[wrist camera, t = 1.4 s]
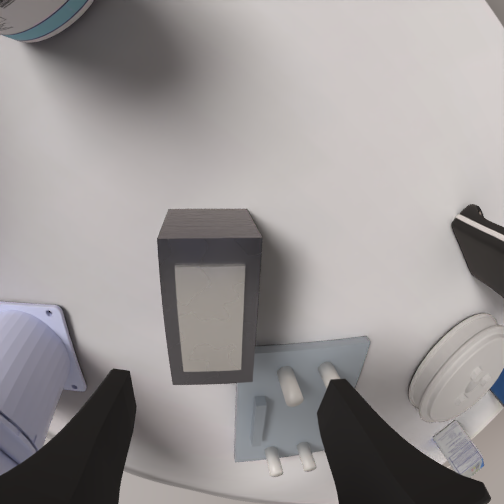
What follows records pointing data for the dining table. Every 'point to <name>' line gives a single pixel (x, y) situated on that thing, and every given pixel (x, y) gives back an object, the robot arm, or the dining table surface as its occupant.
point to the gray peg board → (291, 398)
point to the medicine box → (459, 450)
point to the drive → (210, 294)
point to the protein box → (499, 388)
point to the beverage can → (38, 17)
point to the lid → (459, 369)
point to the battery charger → (481, 246)
